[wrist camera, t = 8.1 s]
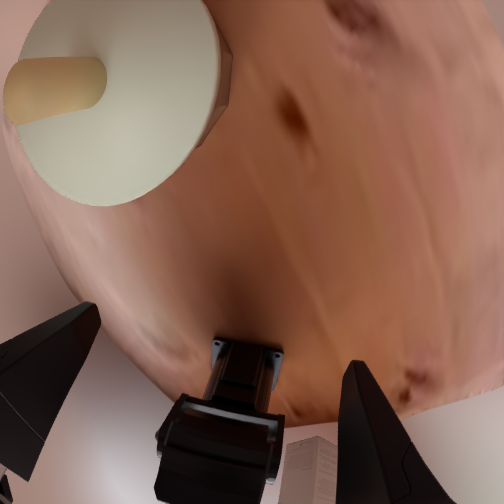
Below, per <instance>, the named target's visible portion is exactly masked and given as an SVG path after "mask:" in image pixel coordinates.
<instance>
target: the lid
mask: <svg viewBox="0 0 504 504" xmlns="http://www.w3.org/2000/svg"><path fill="white" fill-rule="evenodd" d="M220 77H221V52H220V43H219V37H218V34H217V30H216V26H215V23H214V21H213V18H212V16H211V14H210V12H209V10H208V8H207V6H206V5H205V3H204V2H203V1H202V0H52V1H51V2H50V3H49V4H48V5H47V6H46V7H45V9H44V10H43V11H42V13H41V14H40V15H39V17H38V18H37V20H36V21H35V23H34V25H33V26H32V28H31V30H30V32H29V33H28V36H27V38H26V40H25V42H24V45H23V47H22V50H21V53H20V56H19V59H18V62H17V63H16V64H15V65H14V66H13V67H12V68H11V70H10V72H9V74H8V76H7V78H6V82H5V85H4V93H3V103H4V109H5V112H6V115H7V117H8V118H9V120H10V121H11V122H12V123H13V124H15V125H16V129H17V132H18V136H19V139H20V142H21V145H22V147H23V150H24V152H25V154H26V156H27V158H28V160H29V161H30V163H31V165H32V166H33V168H34V169H35V171H36V172H37V173H38V174H39V176H40V177H41V178H42V179H43V180H44V181H45V182H46V183H47V184H48V185H49V186H50V187H51V188H53V189H54V190H55V191H57V192H58V193H59V194H61V195H63V196H65V197H66V198H68V199H70V200H73V201H75V202H78V203H81V204H86V205H90V206H113V205H119V204H122V203H126V202H130V201H132V200H134V199H136V198H139V197H141V196H143V195H144V194H146V193H147V192H149V191H151V190H152V189H154V188H155V187H157V186H158V185H160V184H161V183H162V182H164V181H165V180H166V179H167V178H169V177H170V176H171V175H172V174H173V173H175V172H176V171H177V170H178V168H179V167H180V166H181V165H182V164H183V163H184V162H185V161H186V160H187V159H188V157H189V156H190V154H191V153H192V152H193V150H194V149H195V147H196V146H197V144H198V143H199V141H200V139H201V137H202V135H203V134H204V132H205V130H206V128H207V125H208V123H209V120H210V118H211V115H212V113H213V110H214V106H215V103H216V99H217V95H218V90H219V83H220Z"/></svg>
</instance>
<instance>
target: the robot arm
mask: <svg viewBox="0 0 504 504" xmlns="http://www.w3.org/2000/svg"><path fill="white" fill-rule="evenodd" d="M100 326H101V318H100V314H99V311H98V307H97V305H96V304H95V303H92V302H89V301H86V302H83V303H81V304H79V305H78V306H75V307H73V308H71V309H69V310H67V311H65V312H63V313H61V314H59V315H57V316H55V317H53V318H51V319H49V320H47V321H45V322H43V323H41V324H39V325H37V326H35V327H33V328H31V329H29V330H27V331H25V332H23V333H21V334H19V335H17V336H16V337H14V338H13V339H10V340H8V341H6V342H4V343H2V344H0V504H12V502H13V498H12V495H11V491H10V487H9V483H8V479H7V476H6V475H5V472H6V470H7V469H8V470H10V471H11V472H13V473H14V474H16V475H17V476H19V477H20V478H22V479H23V480H25V481H27V482H28V481H29V480H30V477H31V474H32V472H33V469H34V467H35V465H36V462H37V460H38V457H39V455H40V453H41V450H42V448H43V446H44V443H45V442H44V441H46V439H47V436H48V434H49V432H50V430H51V427H52V425H53V423H54V421H55V419H56V417H57V415H58V413H59V410H60V409H61V407H62V404H63V402H64V400H65V398H66V396H67V394H68V392H69V390H70V388H71V387H72V384H73V383H74V381H75V379H76V377H77V375H78V373H79V371H80V369H81V368H82V366H83V364H84V362H85V360H86V358H87V356H88V353H89V351H90V349H91V347H92V344H93V342H94V340H95V337H96V335H97V333H98V330H99V328H100ZM283 355H284V352H283V351H282V350H280V349H276V348H270V347H264V346H259V345H254V344H249V343H244V342H239V341H234V340H229V339H224V338H220V337H214V338H213V341H212V373H211V375H210V378H209V381H208V384H207V387H206V390H205V392H204V395H203V398H202V399H199V398H196V397H192V396H189V395H188V394H185V393H182V394H181V396H180V398H179V399H177V400H176V402H175V404H174V406H173V407H172V409H171V411H170V412H169V414H168V416H167V417H166V419H165V421H164V422H163V424H162V426H161V427H160V429H159V430H158V431H157V432H156V434H155V438H156V440H157V442H158V443H157V456H158V457H159V458H161V461H160V466H159V471H158V475H157V478H156V481H155V485H154V490H155V494H156V498H157V500H158V501H161V502H164V503H166V504H260V502H261V498H262V494H263V490H264V486H265V484H271V485H272V484H274V482H275V479H276V476H277V473H278V469H279V465H280V460H281V454H282V445H283V434H284V422H285V415H282V414H278V415H276V414H270V413H267V412H268V406H269V401H270V395H271V391H274V388H275V385H276V381H277V378H278V374H279V371H280V367H281V363H282V360H283ZM335 504H457V503H455V502H454V501H453V500H452V499H451V498H450V497H449V496H448V494H447V493H446V492H445V490H444V489H443V487H442V486H441V485H440V483H439V482H438V480H437V479H436V478H435V476H434V475H433V474H432V472H431V471H430V469H429V468H428V466H427V465H426V464H425V462H424V461H423V459H422V457H421V456H420V454H419V452H418V451H417V449H416V447H415V445H414V444H413V442H411V439H410V437H409V435H408V434H407V432H406V430H405V428H404V427H403V425H402V423H401V421H400V420H399V418H398V416H397V415H396V413H395V411H394V410H393V408H392V406H391V405H390V403H389V401H388V399H387V398H386V396H385V395H384V393H383V391H382V390H381V388H380V386H379V385H378V383H377V381H376V380H375V378H374V376H373V375H372V373H371V372H370V370H369V368H368V367H367V365H366V363H365V362H364V361H360V360H352V361H351V362H350V364H349V366H348V368H347V370H346V372H345V373H344V376H343V380H342V390H341V399H340V408H339V417H338V457H337V483H336V500H335Z"/></svg>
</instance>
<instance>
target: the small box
mask: <svg viewBox="0 0 504 504" xmlns="http://www.w3.org/2000/svg"><path fill="white" fill-rule="evenodd" d="M337 457H338V446H336V445H334V444H332V443H330V442H328V441H326V440H325V439H323V438H321V437H319V436H316V437H312V438H309V439H306V440H302V441H298V442H294V443H291V444H287V445H286V453H285V460H284V467H283V475H282V481H281V488H280V495H279V502H278V504H335V500H336V483H337Z"/></svg>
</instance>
